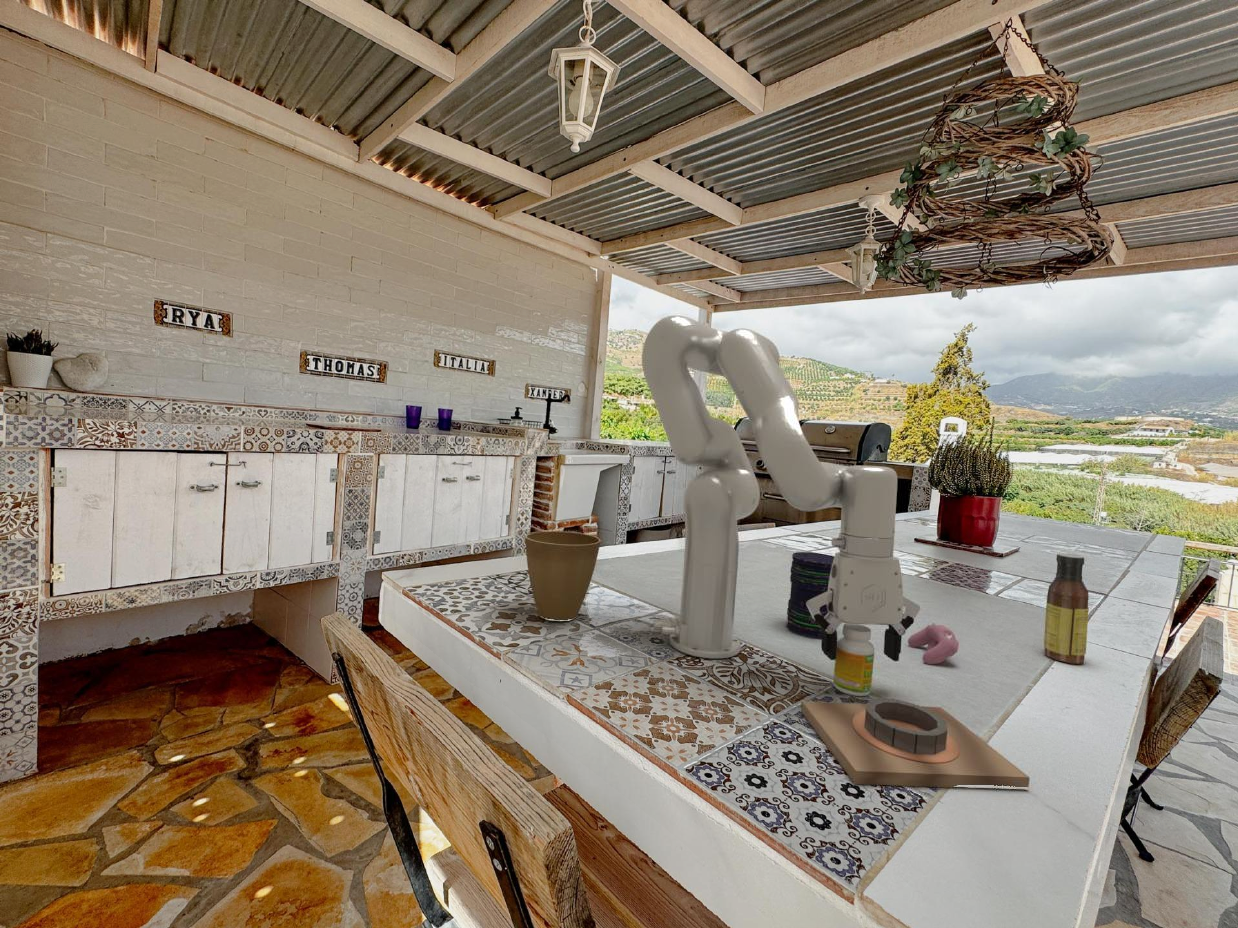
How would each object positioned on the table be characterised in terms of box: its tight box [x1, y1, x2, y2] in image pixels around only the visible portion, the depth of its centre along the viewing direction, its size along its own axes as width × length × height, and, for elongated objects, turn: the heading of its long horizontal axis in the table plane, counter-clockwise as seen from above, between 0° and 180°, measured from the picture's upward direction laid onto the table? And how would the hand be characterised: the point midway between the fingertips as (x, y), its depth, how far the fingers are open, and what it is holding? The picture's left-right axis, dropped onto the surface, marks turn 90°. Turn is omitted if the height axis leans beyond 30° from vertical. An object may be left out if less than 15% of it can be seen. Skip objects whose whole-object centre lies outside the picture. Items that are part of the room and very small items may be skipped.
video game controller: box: [907, 622, 960, 665], centre depth 102 cm, size 10×5×7 cm, turn 169°
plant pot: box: [524, 530, 602, 620], centre depth 110 cm, size 15×15×16 cm
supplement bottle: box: [832, 623, 875, 697], centre depth 86 cm, size 5×5×10 cm
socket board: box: [800, 698, 1030, 788], centre depth 70 cm, size 20×16×4 cm
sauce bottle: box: [1043, 552, 1090, 665], centre depth 105 cm, size 7×6×20 cm
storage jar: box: [786, 551, 838, 640], centre depth 112 cm, size 10×10×15 cm
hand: (860, 657), depth 85 cm, fingers open, 9 cm apart
